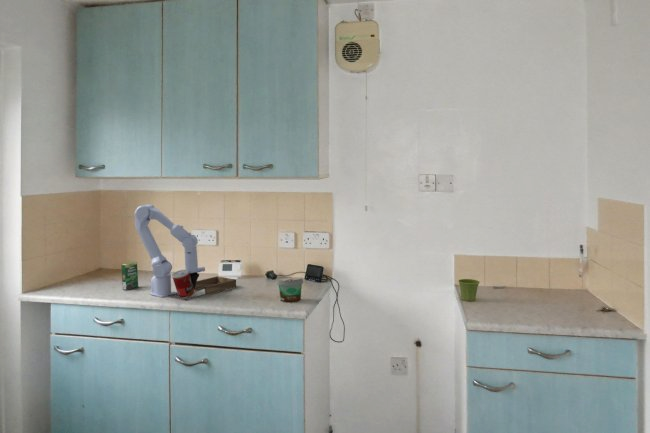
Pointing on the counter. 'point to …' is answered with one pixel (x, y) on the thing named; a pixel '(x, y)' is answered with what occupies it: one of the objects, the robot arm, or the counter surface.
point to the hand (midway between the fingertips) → (192, 288)
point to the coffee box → (129, 276)
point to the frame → (185, 298)
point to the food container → (290, 290)
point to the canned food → (183, 283)
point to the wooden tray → (215, 284)
